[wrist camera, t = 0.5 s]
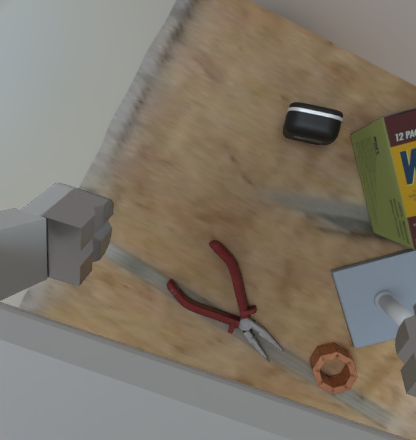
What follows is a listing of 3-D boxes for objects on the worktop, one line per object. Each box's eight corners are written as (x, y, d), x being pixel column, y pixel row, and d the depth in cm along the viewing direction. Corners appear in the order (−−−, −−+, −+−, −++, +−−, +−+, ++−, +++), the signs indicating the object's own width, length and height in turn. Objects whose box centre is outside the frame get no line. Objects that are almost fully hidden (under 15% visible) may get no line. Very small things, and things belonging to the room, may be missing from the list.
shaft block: (433, 325, 58) (468, 353, 48) (352, 344, 60) (371, 375, 50) (411, 248, 58) (442, 261, 48) (330, 270, 59) (344, 287, 50)
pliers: (249, 374, 63) (249, 382, 60) (165, 283, 64) (161, 287, 61) (303, 330, 61) (305, 336, 59) (216, 236, 62) (214, 238, 59)
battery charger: (278, 141, 59) (282, 130, 48) (284, 116, 58) (290, 99, 47) (324, 151, 58) (339, 143, 47) (330, 126, 58) (348, 111, 46)
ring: (355, 376, 60) (361, 387, 57) (317, 384, 61) (320, 396, 58) (344, 339, 60) (349, 349, 57) (306, 349, 61) (309, 358, 58)
